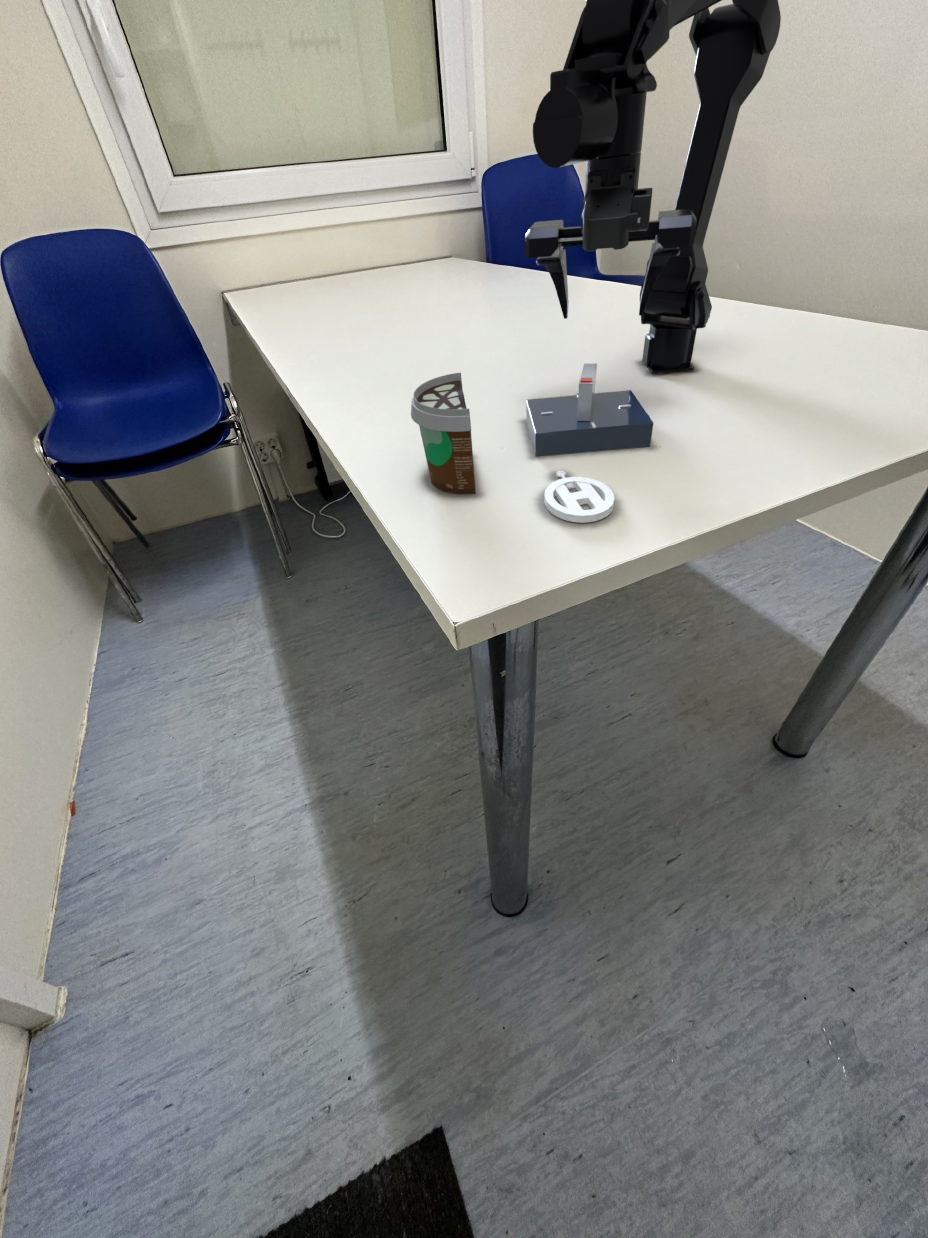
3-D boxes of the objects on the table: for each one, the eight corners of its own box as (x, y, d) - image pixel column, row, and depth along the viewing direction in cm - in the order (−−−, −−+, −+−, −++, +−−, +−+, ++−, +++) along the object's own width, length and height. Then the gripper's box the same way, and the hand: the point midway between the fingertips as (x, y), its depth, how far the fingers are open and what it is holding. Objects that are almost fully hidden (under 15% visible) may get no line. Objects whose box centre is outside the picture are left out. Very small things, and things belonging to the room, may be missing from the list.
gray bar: (581, 399, 71) (584, 361, 68) (594, 399, 71) (597, 361, 68) (576, 420, 66) (578, 380, 63) (590, 421, 66) (592, 380, 63)
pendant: (559, 527, 54) (559, 521, 54) (527, 478, 63) (527, 472, 62) (626, 515, 55) (627, 508, 55) (586, 468, 63) (586, 461, 63)
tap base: (628, 411, 75) (631, 388, 72) (650, 446, 66) (654, 421, 64) (526, 421, 75) (526, 397, 73) (535, 457, 67) (535, 432, 65)
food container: (420, 458, 69) (407, 376, 63) (467, 452, 69) (460, 370, 63) (422, 506, 60) (407, 417, 54) (477, 500, 60) (469, 410, 54)
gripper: (514, 171, 55) (519, 338, 65) (713, 150, 50) (684, 333, 61) (530, 162, 63) (532, 312, 73) (704, 142, 58) (679, 306, 69)
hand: (602, 316), depth 69 cm, fingers open, 9 cm apart
